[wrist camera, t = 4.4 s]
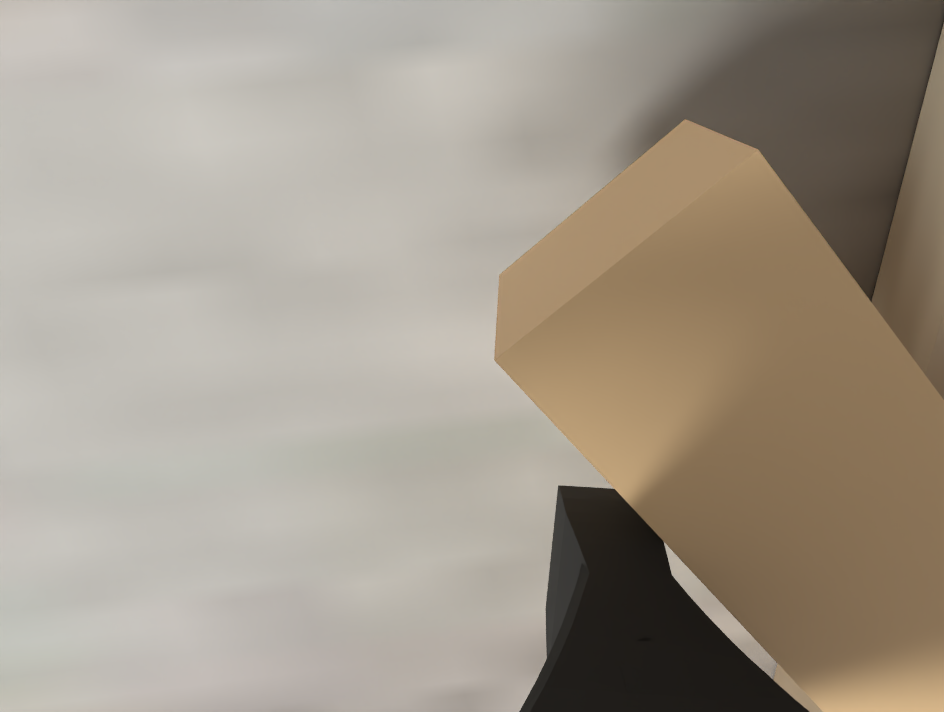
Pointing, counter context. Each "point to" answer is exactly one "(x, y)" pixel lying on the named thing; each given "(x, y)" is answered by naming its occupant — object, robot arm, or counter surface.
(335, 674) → the counter surface
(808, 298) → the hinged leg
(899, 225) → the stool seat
